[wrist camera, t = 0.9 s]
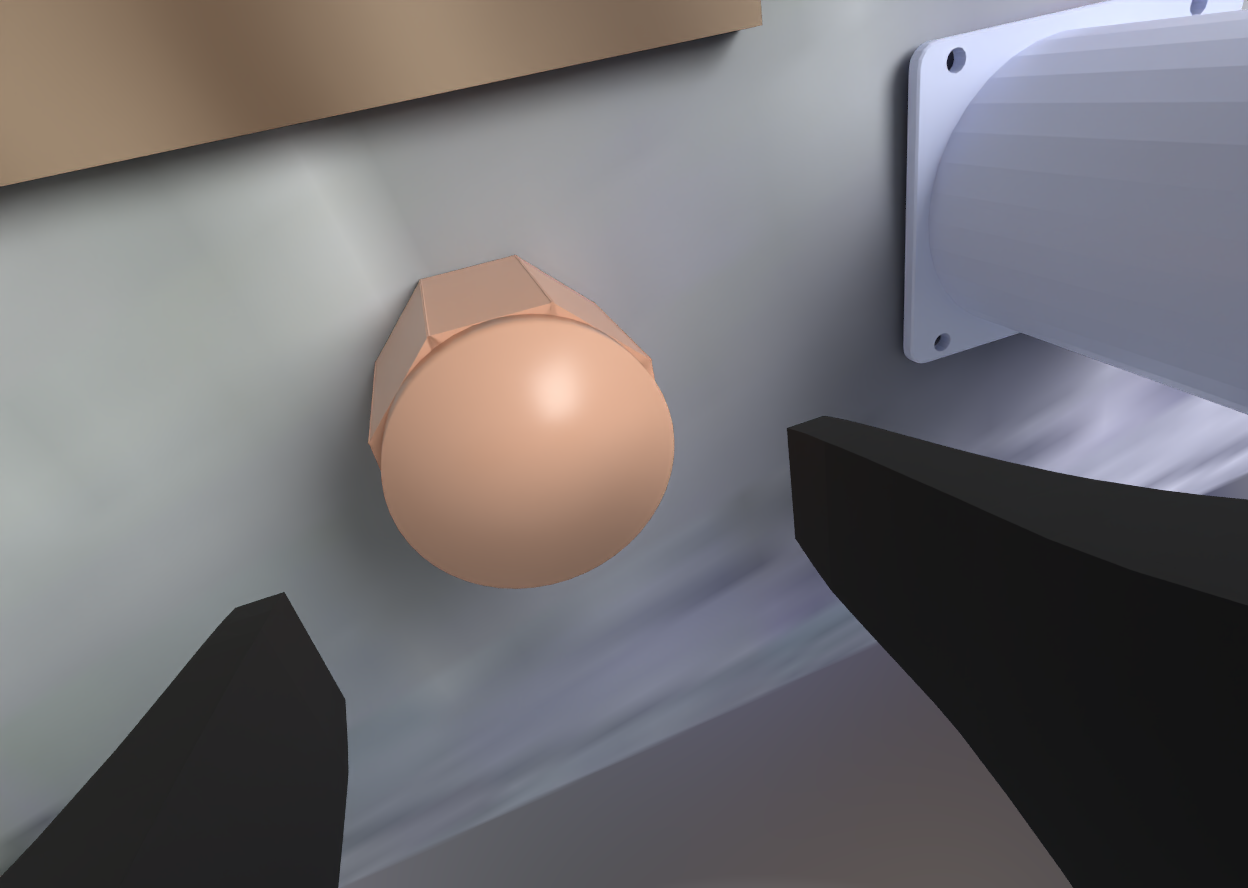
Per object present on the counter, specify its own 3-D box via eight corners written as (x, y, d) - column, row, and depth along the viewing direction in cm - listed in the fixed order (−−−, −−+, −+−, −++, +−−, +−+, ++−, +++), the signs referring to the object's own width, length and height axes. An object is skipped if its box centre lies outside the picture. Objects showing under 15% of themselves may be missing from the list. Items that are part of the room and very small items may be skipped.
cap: (580, 237, 16) (650, 287, 11) (622, 434, 18) (692, 537, 14) (349, 297, 15) (328, 375, 10) (427, 495, 17) (437, 625, 13)
